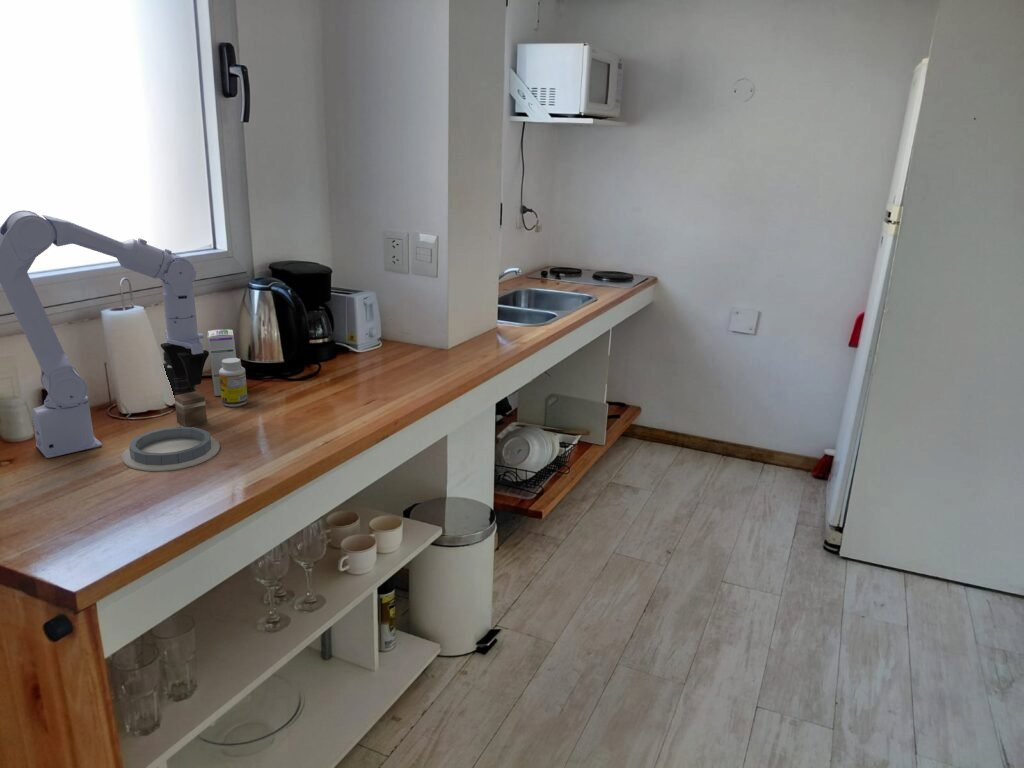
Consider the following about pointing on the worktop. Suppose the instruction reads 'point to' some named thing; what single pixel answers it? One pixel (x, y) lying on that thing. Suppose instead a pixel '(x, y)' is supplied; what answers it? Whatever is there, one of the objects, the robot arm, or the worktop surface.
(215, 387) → the syrup box
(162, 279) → the robot arm
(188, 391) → the supplement bottle
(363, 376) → the worktop surface
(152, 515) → the worktop surface
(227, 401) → the supplement bottle
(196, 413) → the walnut bead block
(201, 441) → the round tray
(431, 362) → the worktop surface
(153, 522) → the worktop surface
